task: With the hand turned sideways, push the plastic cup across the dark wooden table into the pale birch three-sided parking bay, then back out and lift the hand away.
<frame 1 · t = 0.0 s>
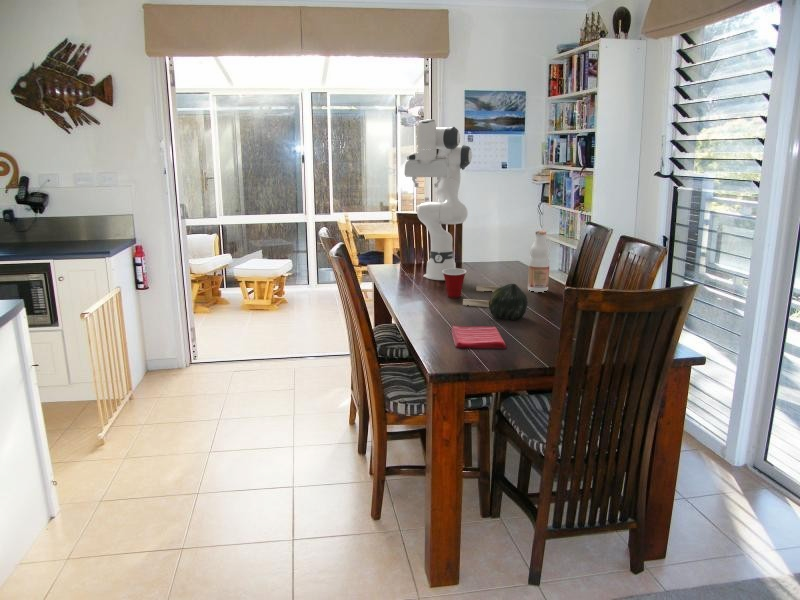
hand: (426, 187, 293), 48 cm above the table, tool pointing down, fingers open, 8 cm apart
dish towel: (477, 340, 225), on the table
plastic cup: (453, 296, 290), on the table
parking bay: (490, 298, 286), on the table
squash: (507, 318, 253), on the table
fruit juice: (537, 291, 302), on the table
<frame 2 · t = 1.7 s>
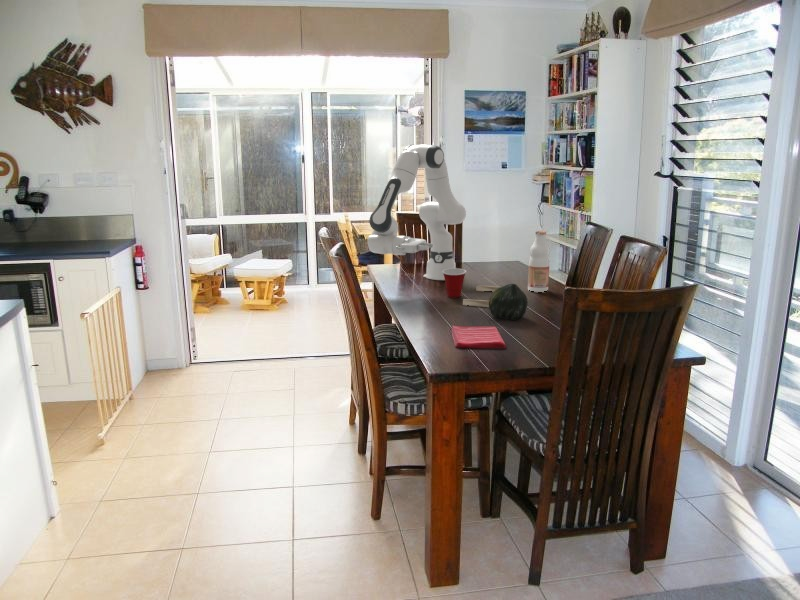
hand: (430, 246, 289), 22 cm above the table, tool horizontal, fingers open, 6 cm apart
nothing on the table moved.
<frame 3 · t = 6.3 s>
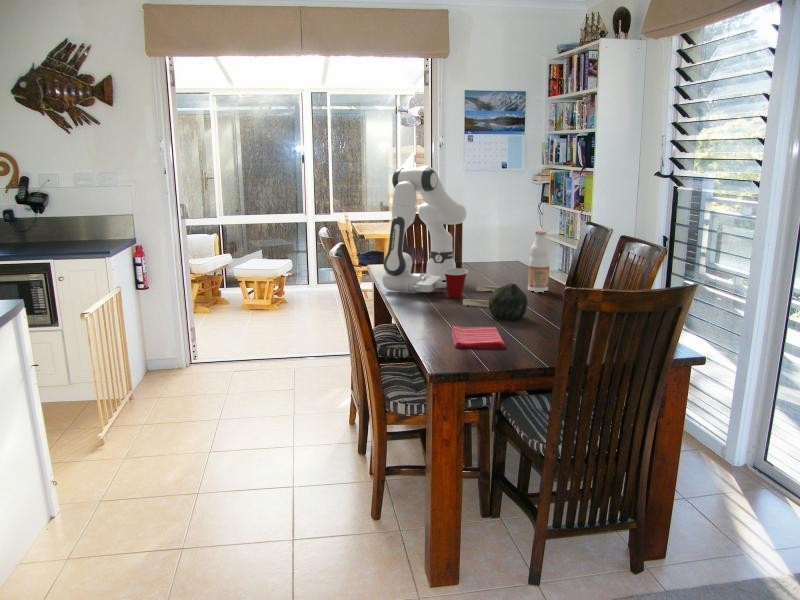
hand: (446, 285, 290), 5 cm above the table, tool horizontal, fingers closed
plastic cup: (455, 296, 290), on the table, touching gripper
everything else where it was.
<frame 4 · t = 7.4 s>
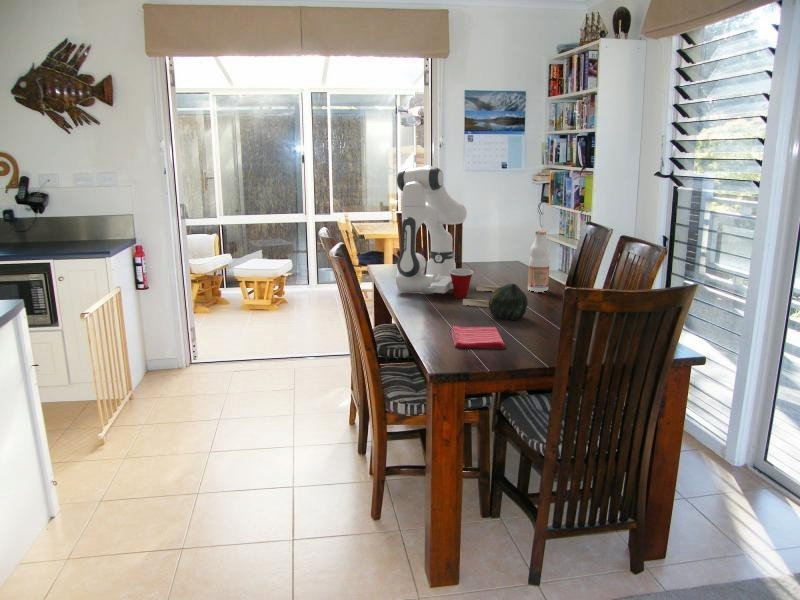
hand: (460, 286, 288), 5 cm above the table, tool horizontal, fingers closed
plastic cup: (460, 297, 289), on the table, touching gripper
everything else where it was.
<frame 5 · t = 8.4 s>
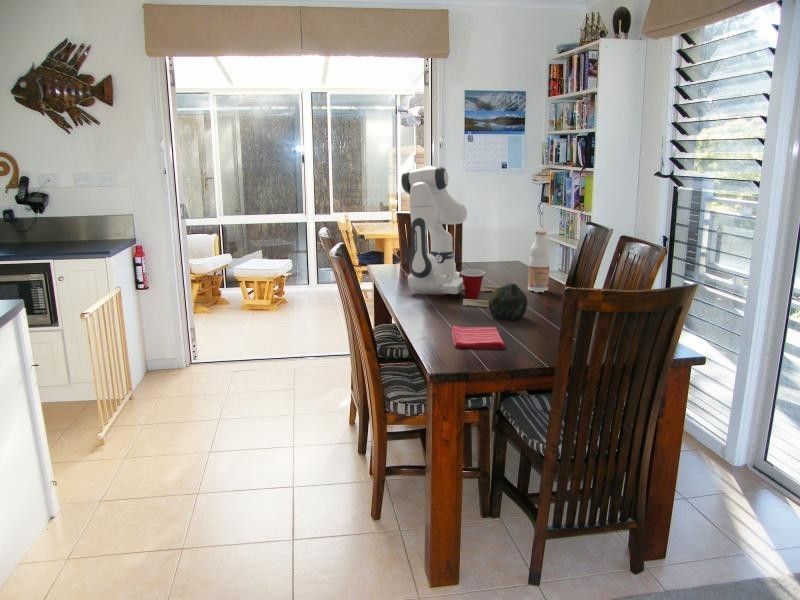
hand: (472, 286, 287), 5 cm above the table, tool horizontal, fingers closed, pressing on plastic cup
plastic cup: (471, 298, 288), on the table, touching gripper
everything else where it was.
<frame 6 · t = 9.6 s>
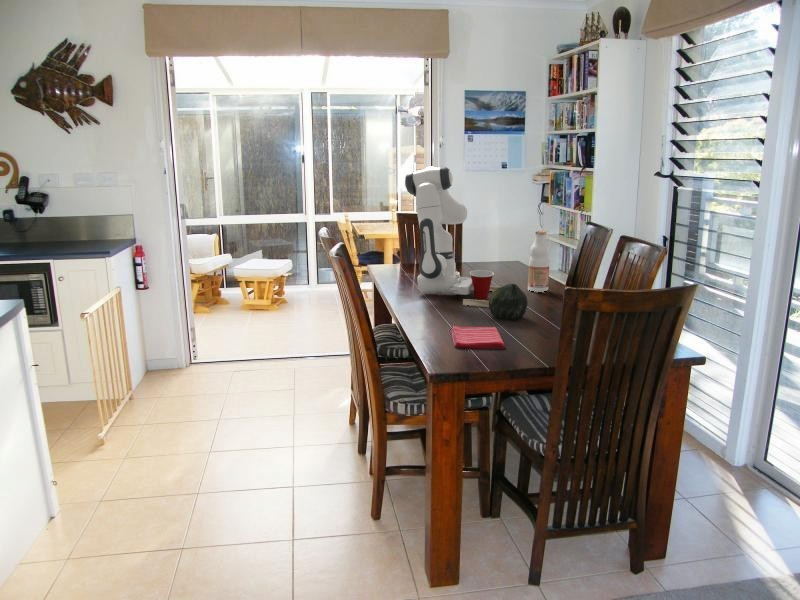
hand: (482, 287, 285), 5 cm above the table, tool horizontal, fingers closed, pressing on plastic cup
plastic cup: (481, 299, 286), on the table, touching gripper
everything else where it was.
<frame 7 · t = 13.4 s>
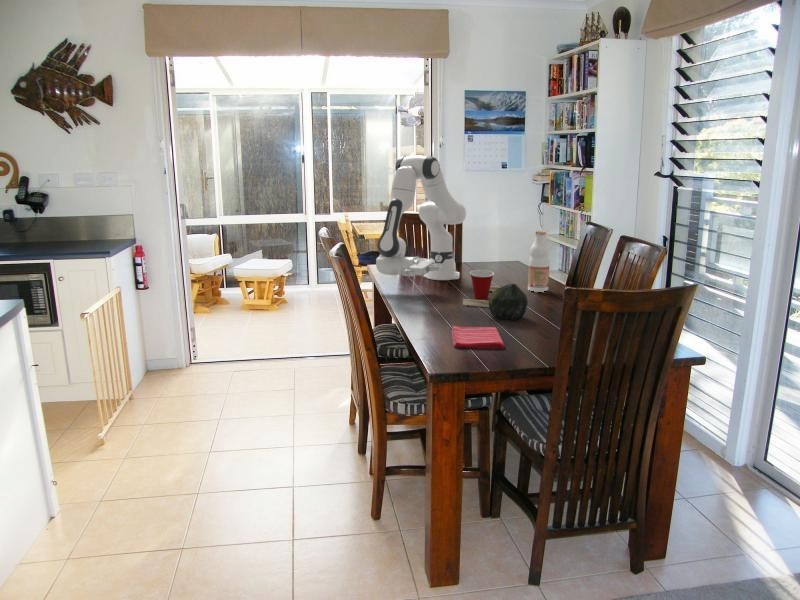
hand: (439, 268, 290), 13 cm above the table, tool horizontal, fingers closed
plastic cup: (481, 299, 286), on the table
everything else where it was.
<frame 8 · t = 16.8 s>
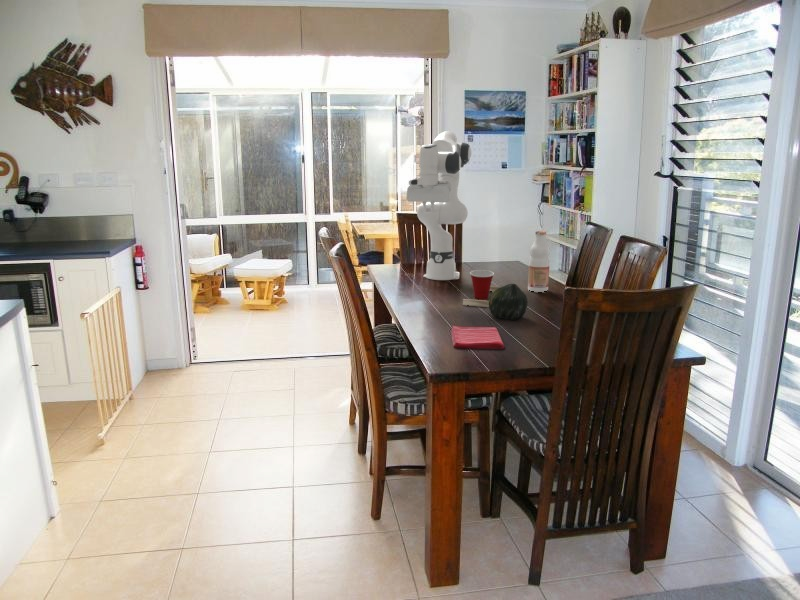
hand: (428, 212, 292), 37 cm above the table, tool pointing down, fingers closed
nothing on the table moved.
at the end: plastic cup inside the target area (3.8 cm from its centre), on the table; plastic cup tilted 0°; the gripper is holding nothing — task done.
